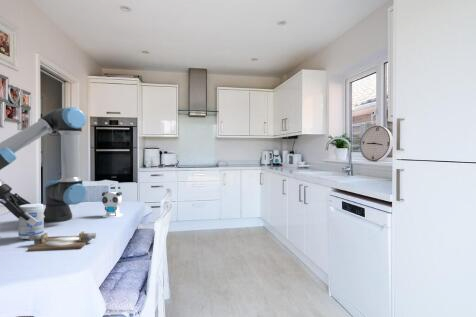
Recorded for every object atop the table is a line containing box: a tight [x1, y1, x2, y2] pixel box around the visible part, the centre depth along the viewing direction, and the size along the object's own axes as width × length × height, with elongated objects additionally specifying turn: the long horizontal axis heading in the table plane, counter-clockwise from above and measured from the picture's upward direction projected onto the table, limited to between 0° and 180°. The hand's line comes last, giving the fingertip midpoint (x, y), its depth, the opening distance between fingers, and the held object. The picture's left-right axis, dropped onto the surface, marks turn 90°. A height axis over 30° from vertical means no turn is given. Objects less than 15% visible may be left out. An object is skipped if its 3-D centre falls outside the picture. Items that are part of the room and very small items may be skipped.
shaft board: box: [27, 231, 97, 252], centre depth 124 cm, size 16×26×5 cm, turn 100°
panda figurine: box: [101, 191, 123, 219], centre depth 177 cm, size 12×11×15 cm
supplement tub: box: [17, 203, 45, 240], centre depth 132 cm, size 10×10×15 cm
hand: (39, 221), depth 133 cm, fingers closed on supplement tub, 10 cm apart
